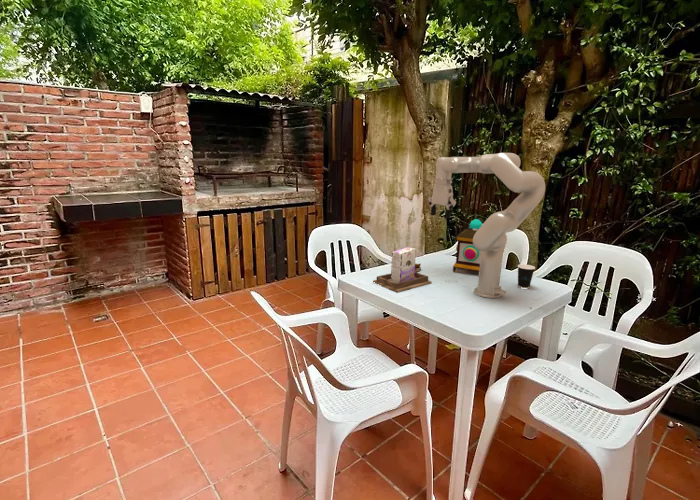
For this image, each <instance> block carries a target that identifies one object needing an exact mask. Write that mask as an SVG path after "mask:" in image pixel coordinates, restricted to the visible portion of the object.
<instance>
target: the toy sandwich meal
mask: <svg viewBox="0 0 700 500" xmlns="http://www.w3.org/2000/svg"><path fill="white" fill-rule="evenodd" d="M421 264H422V263H416V262H415V272H417V273H419V272H420V271H421V270H422V267H421V266H422V265H421Z"/></svg>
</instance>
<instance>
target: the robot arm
mask: <svg viewBox="0 0 700 500" xmlns="http://www.w3.org/2000/svg"><path fill="white" fill-rule="evenodd" d="M520 166H521V158H520V156H519V155H517V154H516V153H512V152H498V153H486V154H482V155H481V156H450V157H449V156H448V157H446V156H441V157H440V156H439V157H438V158H437V159H436V171H435V183H434V185H433V189H432V196H430V197H429V198H427V200H428V204H429V206H430V215H431V216H436V215H437V206H445V209H446V210H445V218H446V219H447V218H451V216H452V211H453V209H454V208H455V206H456V204H457V201H456V200H455V199H454V192H453V191H454V190H453V185H452V183H453V180H452V174H458V173H459V174H464V173H467V174H468V173H480V174H495V175H494V176H496V177H497V178H498V179H499V180H500V181H501V182H502V183H503V184H504V185H505V186H506V188H508V189H509V191H512V192H514V193H518V194H519V195H518V196H516V198H514V200H513V201H512V202H511V203H510V204H509V206H507V207H506V209H504V210H502V211H497V212H494V213H492V214H490V215H489V217H488V218H486V220H485V221H484V222H483V223H482V224H483V225H482V226H481V227H480V228H479V229H478V231H477V232H476V233H475V235H474V237H473V245H474V247H475V248H476V249H477V250H479V251H482V253H481V259H480V269H479V272H478V279H477V287H475V288H473V294H475V295H476V296H479V297H482V298H488V299H498V298H501V297H505V296H506V294H507V290H504V289H502V286H501V285H500V283H501V276H502V275H501V273H502V268H503V267H502V266H503V261H504V260H503V259H504V258H503V257H504V253H505V249H506V245H507V243H508V242H507V240H508V238H507V237H508V236H507V233H511V232H513V231H515V230H517V228H518V227H519V226H520V225H521V224H522V223H523V222H524V221H525V219H526V218H527V217H529V215H530V214H531V213H532V212H533V210H535V208H536V207H537V206H538V205H539V203H541V201H542V200H543V198H544V195H545V192H546V183H545V179H544V177H543V176H542V174H541V173H538V172H536V171H531V170H527V171H526V170H525V171H524V170H522V169H521V168H520Z"/></svg>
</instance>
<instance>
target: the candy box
mask: <svg viewBox="0 0 700 500" xmlns="http://www.w3.org/2000/svg"><path fill="white" fill-rule="evenodd" d="M416 249H417V248H414V247H408V246H406V247H404V248H400V249H398V250H394V251H392V252H391V270H390V273H391V281H392V282H394V283H399V282H403V281H407V280H411V279H414V276H415V263H416V255H417V250H416Z"/></svg>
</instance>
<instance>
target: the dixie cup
mask: <svg viewBox="0 0 700 500" xmlns="http://www.w3.org/2000/svg"><path fill="white" fill-rule="evenodd" d="M535 269H536V267H535V266H533V265H531V264H524V263H522V264H518V265H517V287H518V286H519V287H522V288H528V287H529V288H530V287H531V282H532V279H533V274H534V272H535ZM519 287H518V288H519Z"/></svg>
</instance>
